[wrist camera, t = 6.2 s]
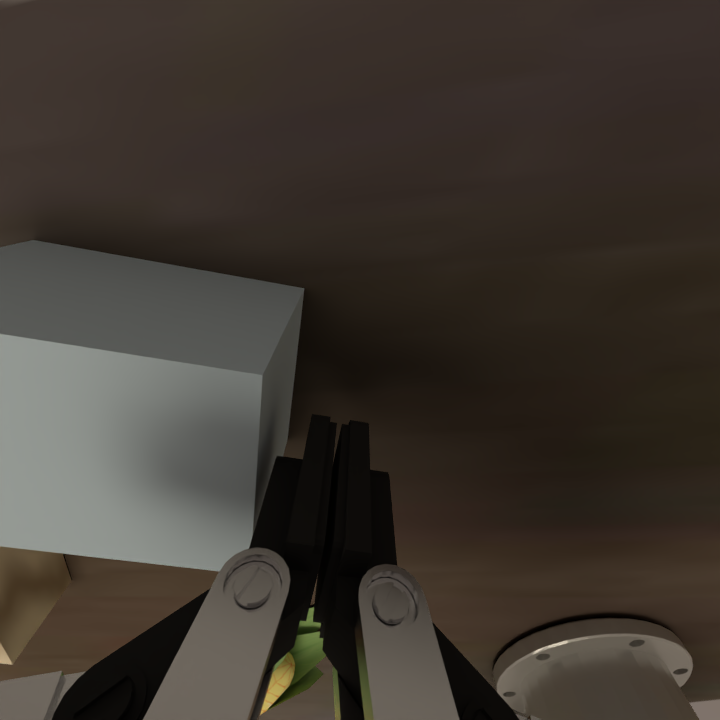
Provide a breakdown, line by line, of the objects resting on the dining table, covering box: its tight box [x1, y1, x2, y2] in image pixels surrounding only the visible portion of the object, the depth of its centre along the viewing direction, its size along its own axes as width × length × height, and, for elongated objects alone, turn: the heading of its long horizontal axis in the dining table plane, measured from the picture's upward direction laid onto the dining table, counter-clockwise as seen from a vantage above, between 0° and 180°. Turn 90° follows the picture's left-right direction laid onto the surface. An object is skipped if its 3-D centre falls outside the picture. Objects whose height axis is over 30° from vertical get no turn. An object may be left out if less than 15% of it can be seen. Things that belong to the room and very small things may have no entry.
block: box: [0, 240, 304, 571], centre depth 11 cm, size 7×9×6 cm
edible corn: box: [260, 607, 326, 714], centre depth 23 cm, size 5×20×5 cm, turn 129°
